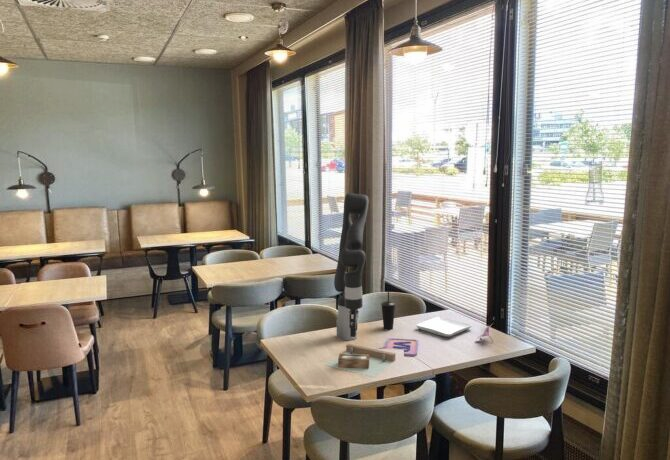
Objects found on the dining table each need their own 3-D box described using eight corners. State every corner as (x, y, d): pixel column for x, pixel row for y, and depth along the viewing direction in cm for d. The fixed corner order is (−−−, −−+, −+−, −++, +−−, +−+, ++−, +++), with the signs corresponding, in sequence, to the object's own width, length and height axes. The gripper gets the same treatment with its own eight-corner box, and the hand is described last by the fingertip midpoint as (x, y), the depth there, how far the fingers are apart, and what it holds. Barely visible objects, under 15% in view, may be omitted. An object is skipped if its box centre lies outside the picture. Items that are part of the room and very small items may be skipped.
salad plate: (439, 321, 280) (439, 315, 280) (472, 330, 265) (473, 324, 264) (414, 330, 266) (414, 324, 266) (448, 341, 251) (449, 334, 250)
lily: (491, 338, 256) (481, 321, 257) (507, 336, 246) (497, 318, 246) (475, 350, 250) (465, 332, 251) (491, 348, 240) (481, 330, 241)
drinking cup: (391, 331, 264) (391, 294, 261) (378, 329, 268) (378, 292, 265) (398, 327, 270) (398, 290, 267) (385, 325, 274) (385, 288, 271)
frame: (338, 367, 219) (338, 358, 218) (339, 362, 224) (339, 353, 224) (368, 368, 217) (368, 359, 217) (369, 363, 223) (369, 354, 222)
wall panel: (325, 367, 222) (324, 358, 221) (348, 351, 238) (348, 343, 238) (374, 379, 209) (374, 370, 208) (395, 362, 226) (395, 353, 225)
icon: (377, 337, 254) (418, 339, 250) (377, 340, 254) (418, 342, 250) (372, 351, 235) (416, 354, 231) (372, 354, 236) (416, 357, 232)
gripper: (361, 301, 209) (361, 339, 211) (363, 292, 223) (363, 327, 225) (342, 300, 210) (343, 338, 212) (346, 291, 224) (346, 327, 226)
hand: (353, 333), depth 218 cm, fingers open, 8 cm apart
